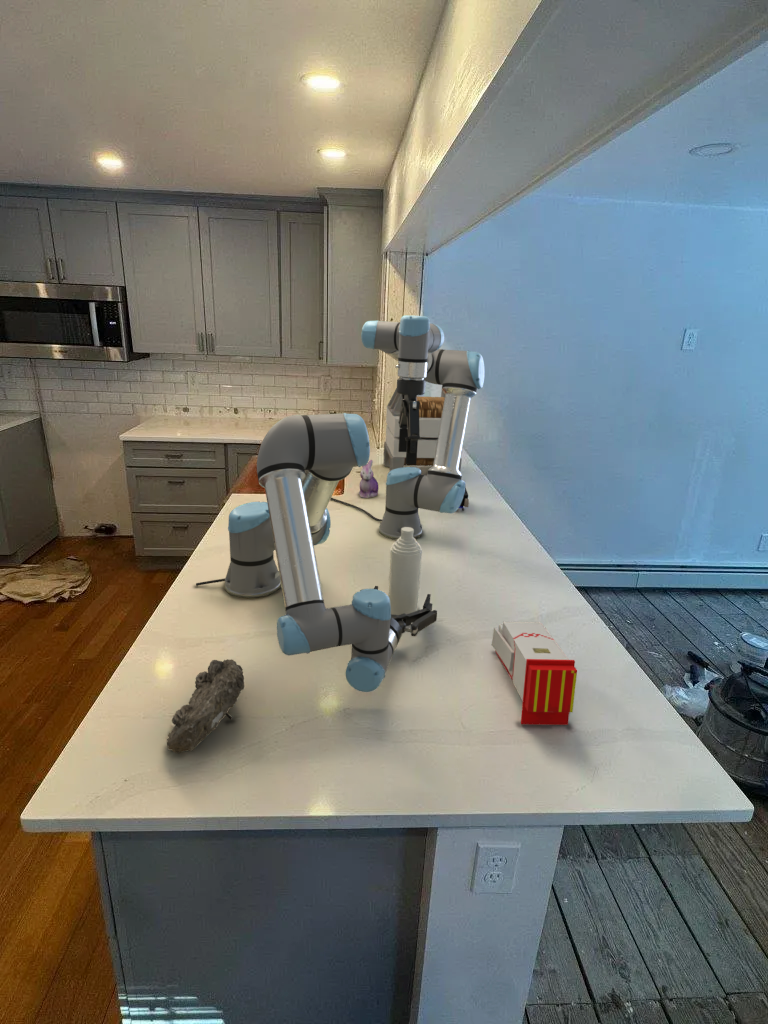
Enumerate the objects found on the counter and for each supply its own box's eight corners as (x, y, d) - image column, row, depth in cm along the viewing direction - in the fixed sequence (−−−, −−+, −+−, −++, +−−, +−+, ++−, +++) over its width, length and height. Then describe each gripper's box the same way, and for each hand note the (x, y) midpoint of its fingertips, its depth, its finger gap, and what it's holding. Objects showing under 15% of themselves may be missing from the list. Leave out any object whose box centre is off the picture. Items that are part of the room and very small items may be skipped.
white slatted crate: (382, 463, 289) (386, 382, 275) (445, 464, 293) (451, 384, 279) (390, 482, 257) (394, 392, 243) (460, 483, 261) (468, 394, 247)
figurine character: (468, 516, 224) (463, 500, 237) (471, 498, 221) (465, 483, 234) (452, 515, 224) (447, 499, 237) (453, 498, 220) (449, 482, 234)
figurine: (363, 499, 233) (364, 464, 228) (353, 492, 242) (354, 458, 236) (383, 497, 237) (385, 462, 232) (373, 490, 246) (374, 456, 241)
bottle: (419, 606, 152) (425, 525, 144) (414, 620, 145) (420, 536, 137) (391, 601, 154) (395, 521, 146) (384, 615, 146) (388, 532, 138)
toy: (538, 606, 134) (586, 666, 105) (533, 659, 137) (578, 731, 108) (487, 605, 134) (521, 665, 105) (483, 658, 137) (515, 730, 107)
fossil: (192, 660, 117) (244, 628, 112) (224, 691, 120) (276, 661, 115) (142, 746, 98) (202, 712, 93) (182, 779, 101) (242, 748, 96)
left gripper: (327, 643, 128) (355, 600, 148) (436, 663, 123) (449, 615, 142) (327, 614, 126) (355, 574, 145) (438, 633, 121) (452, 589, 140)
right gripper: (391, 372, 158) (387, 446, 166) (404, 384, 135) (399, 470, 142) (417, 373, 159) (413, 447, 166) (435, 385, 136) (429, 470, 143)
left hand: (402, 594), depth 144 cm, fingers open, 13 cm apart
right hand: (406, 457), depth 154 cm, fingers open, 13 cm apart
